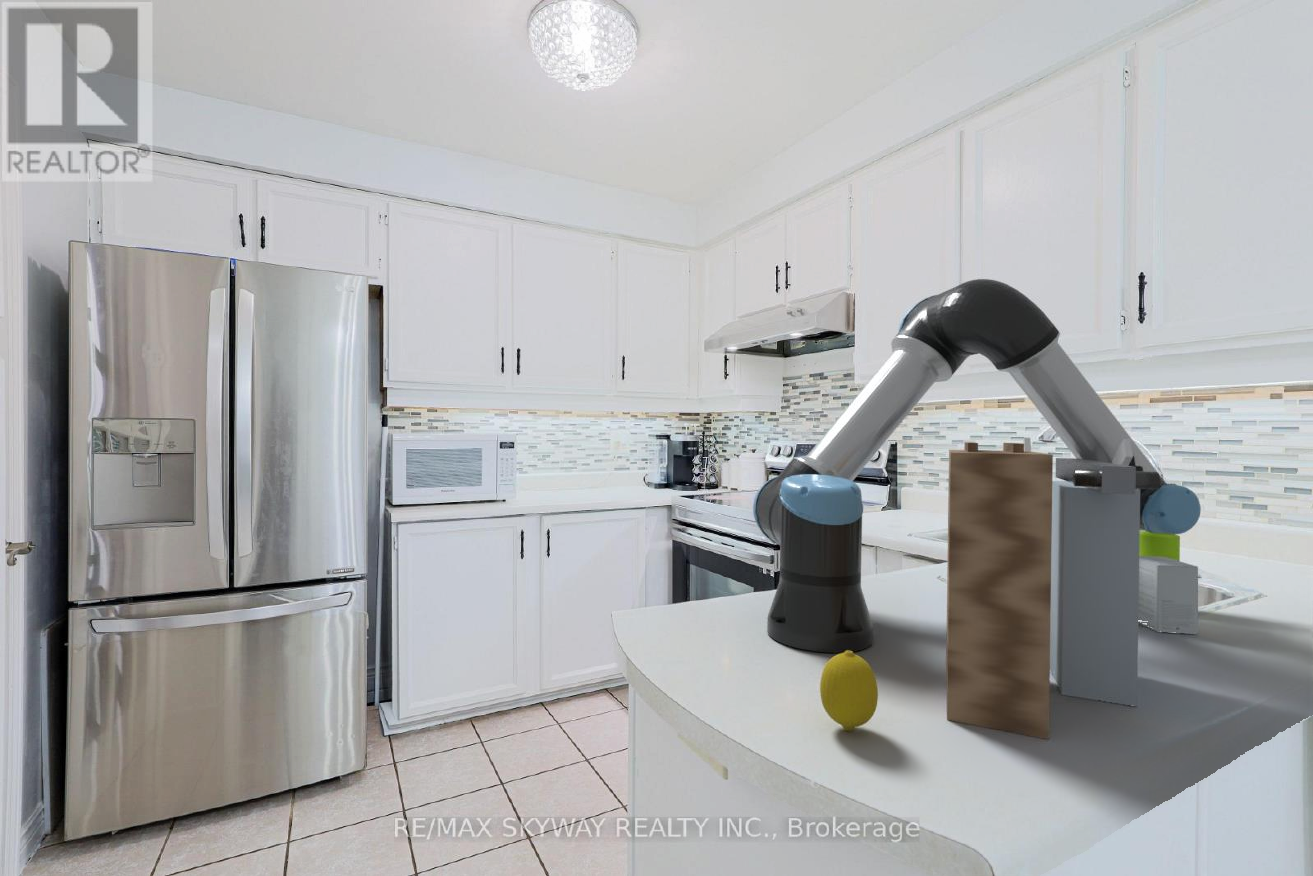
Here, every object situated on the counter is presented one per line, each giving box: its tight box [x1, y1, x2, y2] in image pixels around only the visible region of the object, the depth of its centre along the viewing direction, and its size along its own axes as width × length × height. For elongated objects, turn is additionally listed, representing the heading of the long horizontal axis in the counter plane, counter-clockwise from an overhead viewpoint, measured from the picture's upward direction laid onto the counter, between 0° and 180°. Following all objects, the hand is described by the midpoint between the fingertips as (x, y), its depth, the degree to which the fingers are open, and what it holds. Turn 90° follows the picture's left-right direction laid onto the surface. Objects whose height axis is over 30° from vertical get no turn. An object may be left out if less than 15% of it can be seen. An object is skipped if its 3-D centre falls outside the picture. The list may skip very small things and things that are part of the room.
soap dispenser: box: [1139, 530, 1181, 562], centre depth 106 cm, size 6×7×20 cm
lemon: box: [819, 650, 879, 731], centre depth 60 cm, size 6×6×8 cm
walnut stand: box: [945, 441, 1054, 740], centre depth 69 cm, size 9×18×29 cm, turn 155°
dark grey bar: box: [1055, 457, 1160, 494], centre depth 74 cm, size 7×28×3 cm, turn 155°
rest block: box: [1050, 480, 1141, 707], centre depth 73 cm, size 7×12×24 cm, turn 154°
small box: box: [1138, 556, 1199, 635], centre depth 96 cm, size 8×6×10 cm
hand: (1076, 446), depth 81 cm, fingers open, 10 cm apart
